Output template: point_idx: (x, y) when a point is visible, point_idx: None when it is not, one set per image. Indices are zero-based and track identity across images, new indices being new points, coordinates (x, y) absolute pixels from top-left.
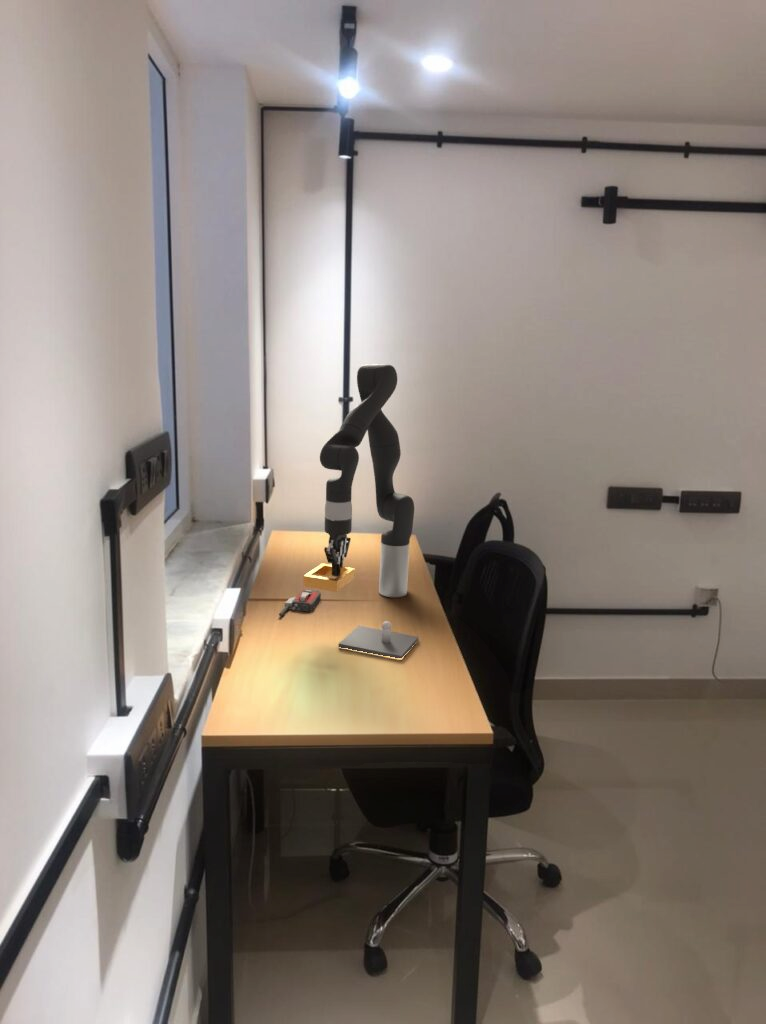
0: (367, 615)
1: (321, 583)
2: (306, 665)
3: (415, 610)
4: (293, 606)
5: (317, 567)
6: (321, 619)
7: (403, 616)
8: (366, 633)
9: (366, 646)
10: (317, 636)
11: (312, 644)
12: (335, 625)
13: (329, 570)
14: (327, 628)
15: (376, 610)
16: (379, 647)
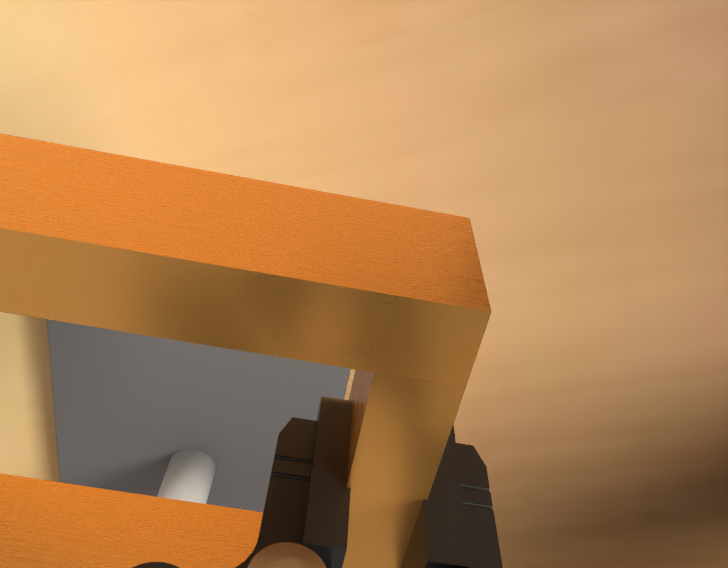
0: (624, 304)
1: None
2: None
3: (722, 504)
4: None
5: (207, 288)
6: (504, 20)
7: (626, 467)
8: (256, 373)
9: (85, 399)
10: (176, 77)
11: (33, 79)
12: (408, 151)
13: (359, 393)
14: (339, 110)
15: (718, 338)
16: (105, 450)
